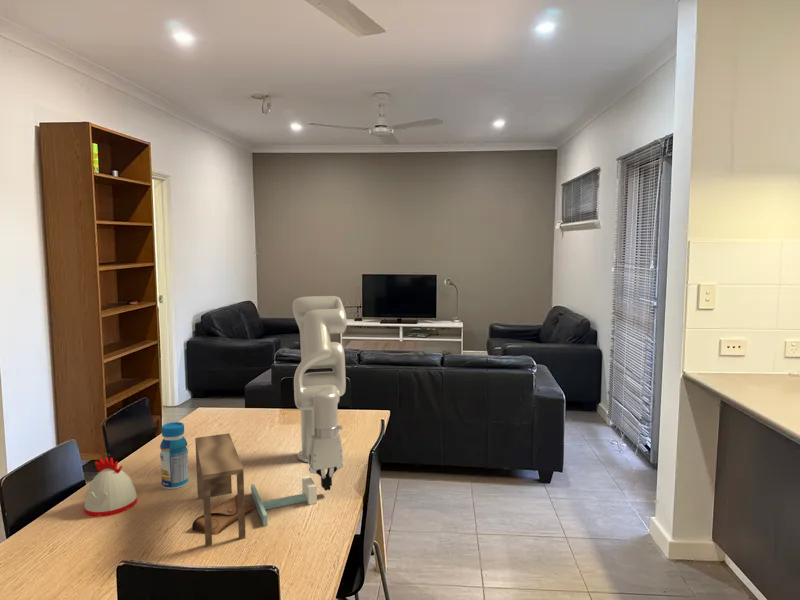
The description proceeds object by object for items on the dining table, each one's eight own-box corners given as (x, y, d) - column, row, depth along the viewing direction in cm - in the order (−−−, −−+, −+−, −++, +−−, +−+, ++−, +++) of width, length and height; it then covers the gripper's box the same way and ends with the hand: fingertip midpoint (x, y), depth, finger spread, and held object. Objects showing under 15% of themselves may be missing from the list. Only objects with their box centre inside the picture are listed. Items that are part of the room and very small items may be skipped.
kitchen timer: (105, 494, 167) (102, 448, 166) (146, 496, 166) (144, 450, 164) (73, 516, 153) (70, 466, 152) (118, 518, 152) (115, 468, 151)
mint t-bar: (304, 483, 174) (304, 467, 173) (323, 513, 154) (323, 495, 153) (251, 493, 167) (250, 477, 166) (263, 526, 147) (263, 507, 146)
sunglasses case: (216, 537, 141) (205, 514, 142) (199, 545, 144) (188, 522, 145) (259, 507, 158) (249, 487, 159) (243, 515, 160) (233, 495, 161)
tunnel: (231, 492, 168) (229, 433, 167) (245, 538, 141) (243, 468, 139) (197, 498, 164) (195, 437, 162) (205, 547, 137) (202, 475, 135)
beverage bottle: (184, 489, 170) (181, 428, 169) (157, 490, 170) (154, 429, 168) (192, 478, 179) (190, 420, 177) (166, 479, 178) (164, 421, 176)
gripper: (344, 424, 170) (345, 479, 172) (298, 431, 164) (299, 488, 165) (352, 431, 163) (353, 488, 165) (304, 438, 157) (306, 498, 159)
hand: (326, 488), depth 165 cm, fingers closed
